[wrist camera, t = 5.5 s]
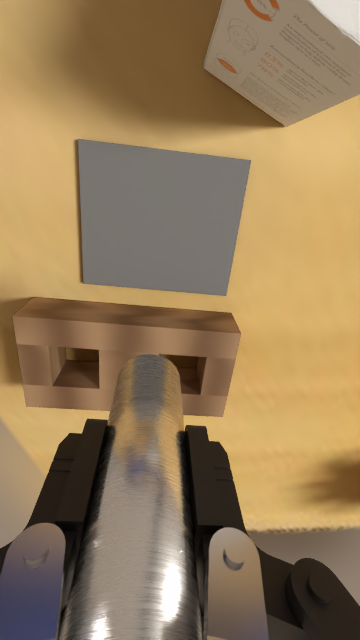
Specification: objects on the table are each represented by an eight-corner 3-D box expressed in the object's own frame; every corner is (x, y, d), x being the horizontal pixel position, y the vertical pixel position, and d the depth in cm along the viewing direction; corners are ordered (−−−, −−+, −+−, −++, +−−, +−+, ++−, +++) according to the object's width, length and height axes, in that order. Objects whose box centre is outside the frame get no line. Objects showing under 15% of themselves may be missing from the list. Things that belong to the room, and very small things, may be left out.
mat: (249, 160, 25) (251, 160, 24) (225, 294, 30) (226, 295, 30) (79, 139, 24) (78, 139, 23) (84, 282, 29) (83, 283, 28)
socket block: (231, 313, 31) (241, 333, 27) (216, 389, 35) (222, 416, 31) (33, 296, 29) (12, 316, 25) (43, 378, 34) (26, 406, 29)
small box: (339, 39, 22) (543, -126, 10) (286, 129, 24) (400, 82, 12) (247, -39, 20) (366, -358, 8) (199, 67, 22) (237, -59, 10)
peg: (184, 357, 14) (224, 683, 5) (175, 406, 15) (195, 738, 6) (119, 351, 14) (35, 689, 5) (116, 402, 15) (45, 746, 6)
